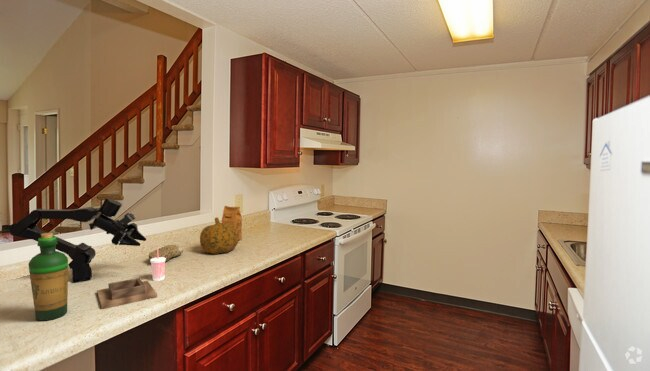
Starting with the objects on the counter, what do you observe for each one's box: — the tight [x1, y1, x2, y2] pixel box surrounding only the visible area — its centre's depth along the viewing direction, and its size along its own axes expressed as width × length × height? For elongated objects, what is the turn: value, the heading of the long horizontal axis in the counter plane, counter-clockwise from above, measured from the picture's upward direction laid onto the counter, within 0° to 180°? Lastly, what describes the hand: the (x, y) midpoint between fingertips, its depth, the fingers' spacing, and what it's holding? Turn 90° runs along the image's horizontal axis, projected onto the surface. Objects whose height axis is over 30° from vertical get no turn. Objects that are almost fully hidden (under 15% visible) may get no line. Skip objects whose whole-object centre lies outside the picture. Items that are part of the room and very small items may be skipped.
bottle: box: [28, 232, 69, 321], centre depth 119 cm, size 11×11×28 cm
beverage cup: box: [149, 247, 166, 282], centre depth 155 cm, size 6×6×14 cm
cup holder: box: [96, 277, 158, 310], centre depth 137 cm, size 18×18×4 cm
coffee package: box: [221, 205, 243, 241], centre depth 227 cm, size 10×12×22 cm
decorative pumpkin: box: [199, 216, 240, 255], centre depth 200 cm, size 20×21×20 cm
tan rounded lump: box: [148, 244, 184, 263], centre depth 184 cm, size 13×8×20 cm
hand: (143, 242), depth 158 cm, fingers open, 9 cm apart
